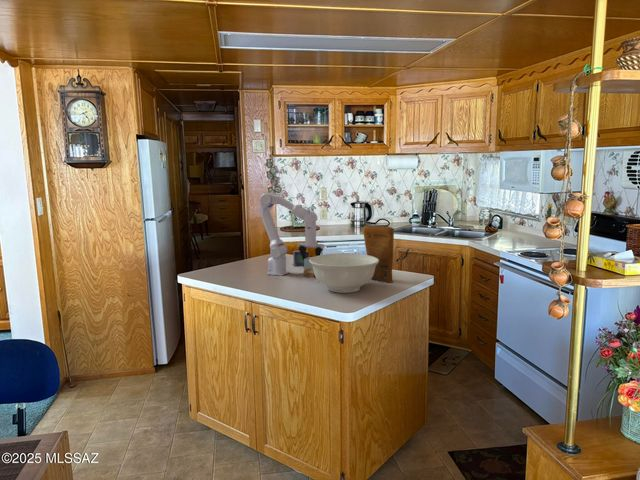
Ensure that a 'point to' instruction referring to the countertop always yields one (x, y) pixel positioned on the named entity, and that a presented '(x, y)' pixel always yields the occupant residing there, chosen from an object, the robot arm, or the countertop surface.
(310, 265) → the slate block
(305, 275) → the walnut slab
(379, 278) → the pancake mix bag
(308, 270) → the oak slab
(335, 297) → the countertop surface
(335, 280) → the bowl
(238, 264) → the countertop surface
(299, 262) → the flask
